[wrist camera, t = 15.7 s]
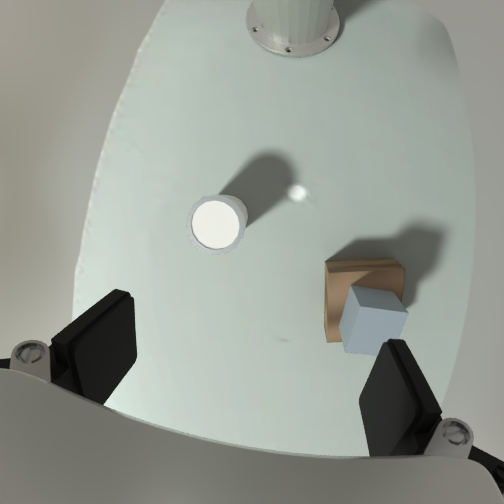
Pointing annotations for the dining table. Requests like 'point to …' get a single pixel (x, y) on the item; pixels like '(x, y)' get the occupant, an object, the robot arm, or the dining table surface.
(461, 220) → the dining table surface
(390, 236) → the dining table surface
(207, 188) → the dining table surface
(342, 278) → the walnut block
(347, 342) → the slate cube
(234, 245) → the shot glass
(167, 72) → the dining table surface
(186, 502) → the robot arm
